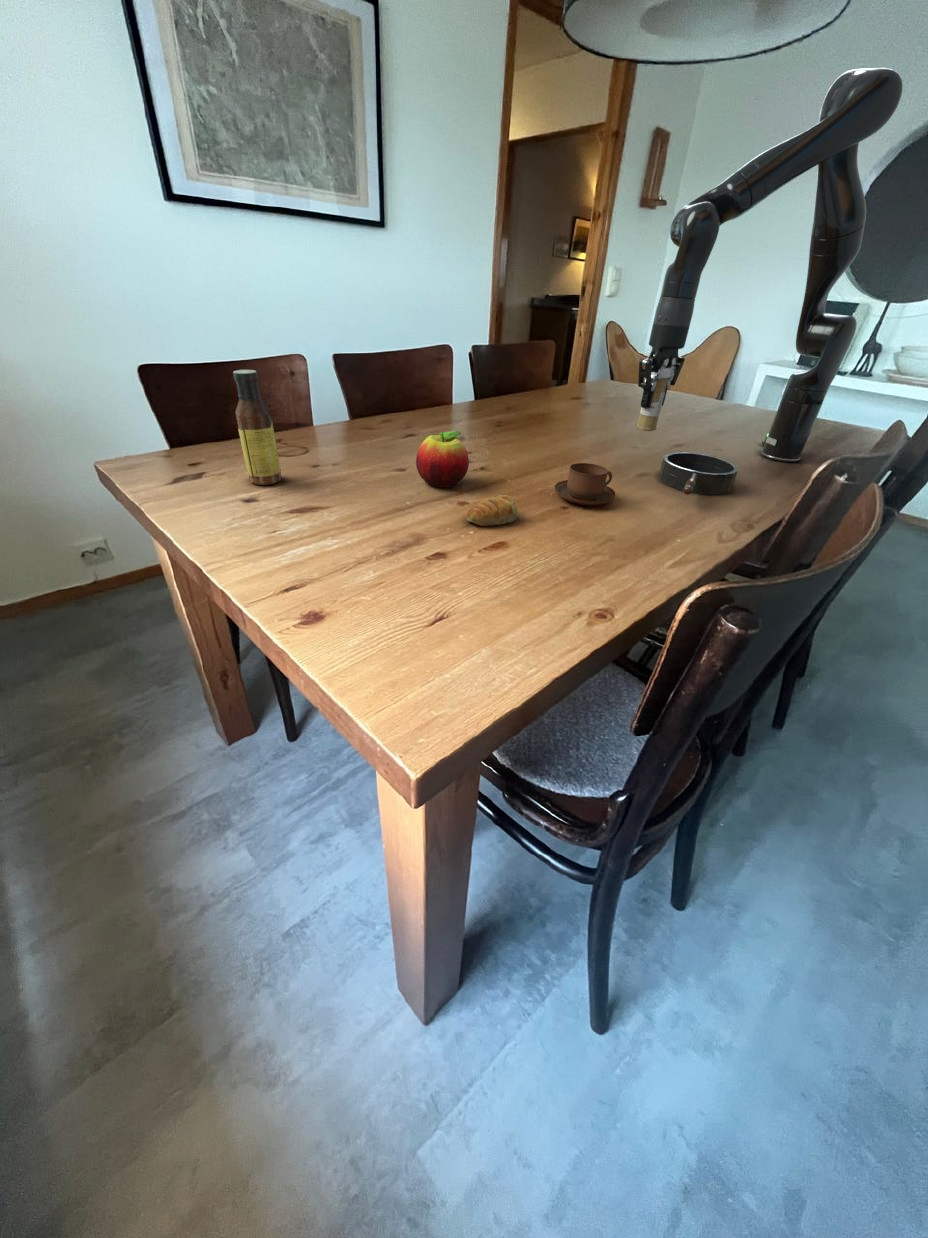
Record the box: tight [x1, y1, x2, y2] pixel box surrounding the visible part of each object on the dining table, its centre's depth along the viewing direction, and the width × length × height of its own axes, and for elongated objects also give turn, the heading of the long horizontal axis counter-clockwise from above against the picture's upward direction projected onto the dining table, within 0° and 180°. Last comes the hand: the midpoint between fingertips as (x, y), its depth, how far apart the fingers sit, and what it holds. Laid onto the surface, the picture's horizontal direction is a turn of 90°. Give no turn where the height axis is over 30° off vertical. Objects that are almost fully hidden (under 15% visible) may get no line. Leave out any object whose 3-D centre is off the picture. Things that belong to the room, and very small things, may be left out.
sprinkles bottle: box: [636, 368, 671, 432], centre depth 120 cm, size 5×5×14 cm
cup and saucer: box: [554, 462, 616, 506], centre depth 104 cm, size 12×12×6 cm
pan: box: [658, 451, 739, 496], centre depth 117 cm, size 16×16×4 cm
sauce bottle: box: [232, 369, 282, 486], centre depth 98 cm, size 7×6×20 cm
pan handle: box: [682, 473, 699, 496], centre depth 106 cm, size 11×2×2 cm, turn 153°
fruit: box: [415, 430, 470, 488], centre depth 106 cm, size 11×11×10 cm
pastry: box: [465, 494, 520, 527], centre depth 93 cm, size 9×7×4 cm
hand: (651, 406), depth 121 cm, fingers closed on sprinkles bottle, 4 cm apart
